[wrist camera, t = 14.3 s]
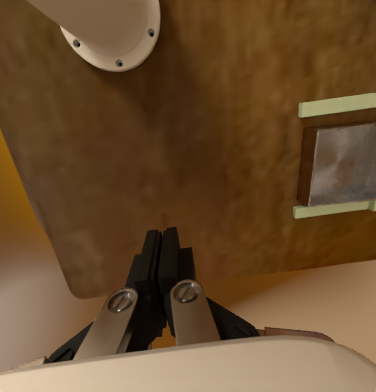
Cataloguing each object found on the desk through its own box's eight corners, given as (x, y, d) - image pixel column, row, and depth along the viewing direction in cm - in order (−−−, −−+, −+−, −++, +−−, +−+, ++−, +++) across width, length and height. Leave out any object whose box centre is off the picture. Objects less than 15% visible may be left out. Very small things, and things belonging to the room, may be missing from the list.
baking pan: (303, 128, 32) (317, 129, 29) (380, 120, 32) (402, 120, 29) (296, 199, 37) (308, 207, 34) (364, 192, 37) (382, 199, 34)
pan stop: (298, 103, 31) (306, 102, 29) (399, 89, 31) (413, 87, 29) (292, 216, 38) (298, 221, 36) (374, 205, 38) (384, 209, 36)
